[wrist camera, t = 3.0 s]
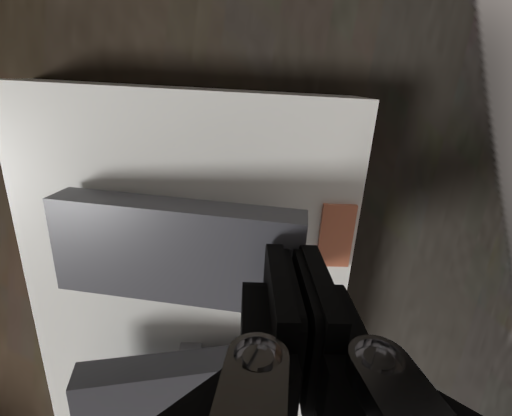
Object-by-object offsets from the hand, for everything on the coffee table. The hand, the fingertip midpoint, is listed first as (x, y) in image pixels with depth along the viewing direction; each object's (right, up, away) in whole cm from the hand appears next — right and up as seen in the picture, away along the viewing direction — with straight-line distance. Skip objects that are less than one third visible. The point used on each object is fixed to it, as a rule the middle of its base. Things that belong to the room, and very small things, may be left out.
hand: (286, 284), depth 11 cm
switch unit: (-4, -2, +8) cm, 9 cm away
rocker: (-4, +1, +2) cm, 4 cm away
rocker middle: (-4, -5, +4) cm, 8 cm away
